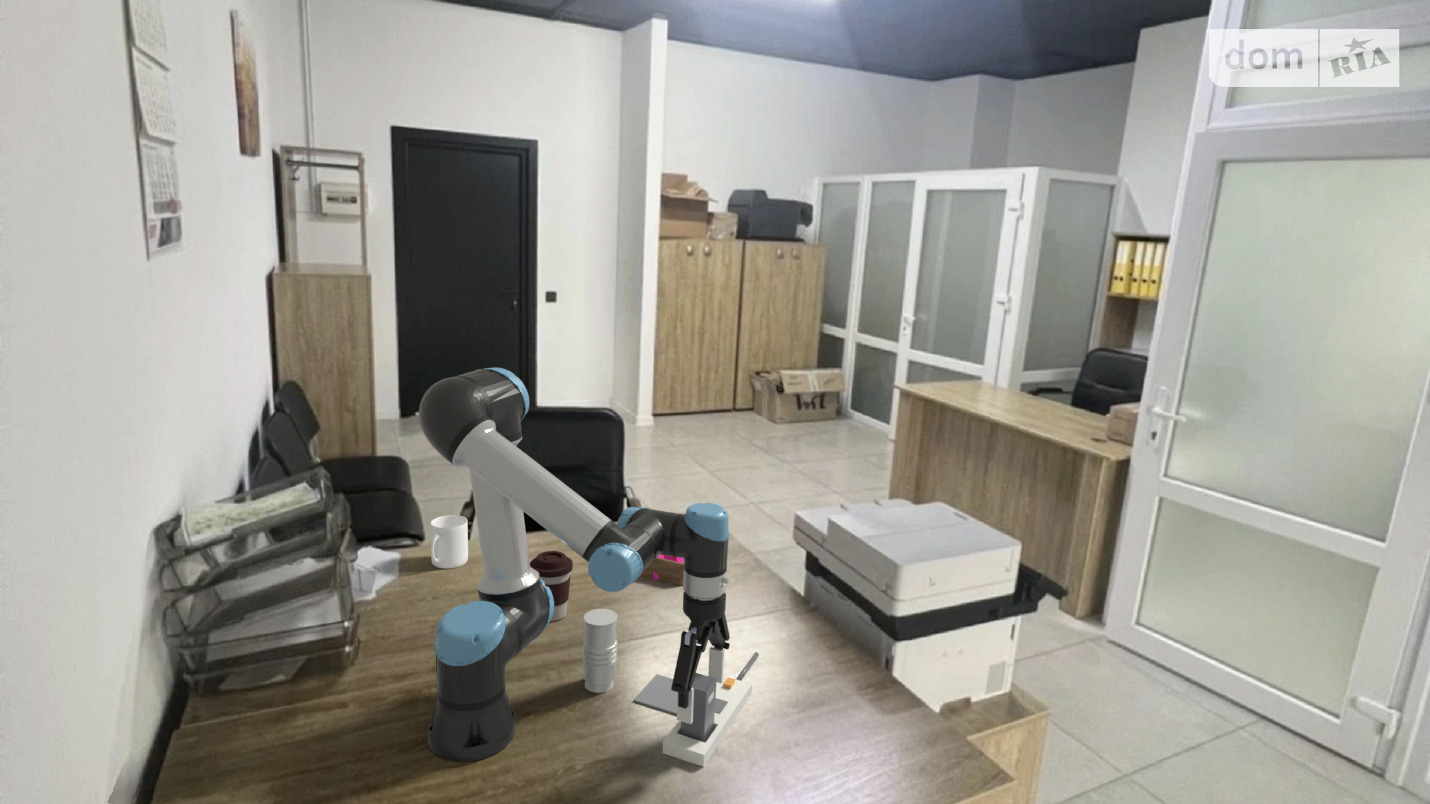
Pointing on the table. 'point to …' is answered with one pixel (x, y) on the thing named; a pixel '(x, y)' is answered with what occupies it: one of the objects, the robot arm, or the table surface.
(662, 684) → the mat
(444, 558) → the mug
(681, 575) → the display box
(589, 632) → the grey ribbed canister
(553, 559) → the coffee cup
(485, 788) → the table surface
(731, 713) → the power strip
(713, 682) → the block
